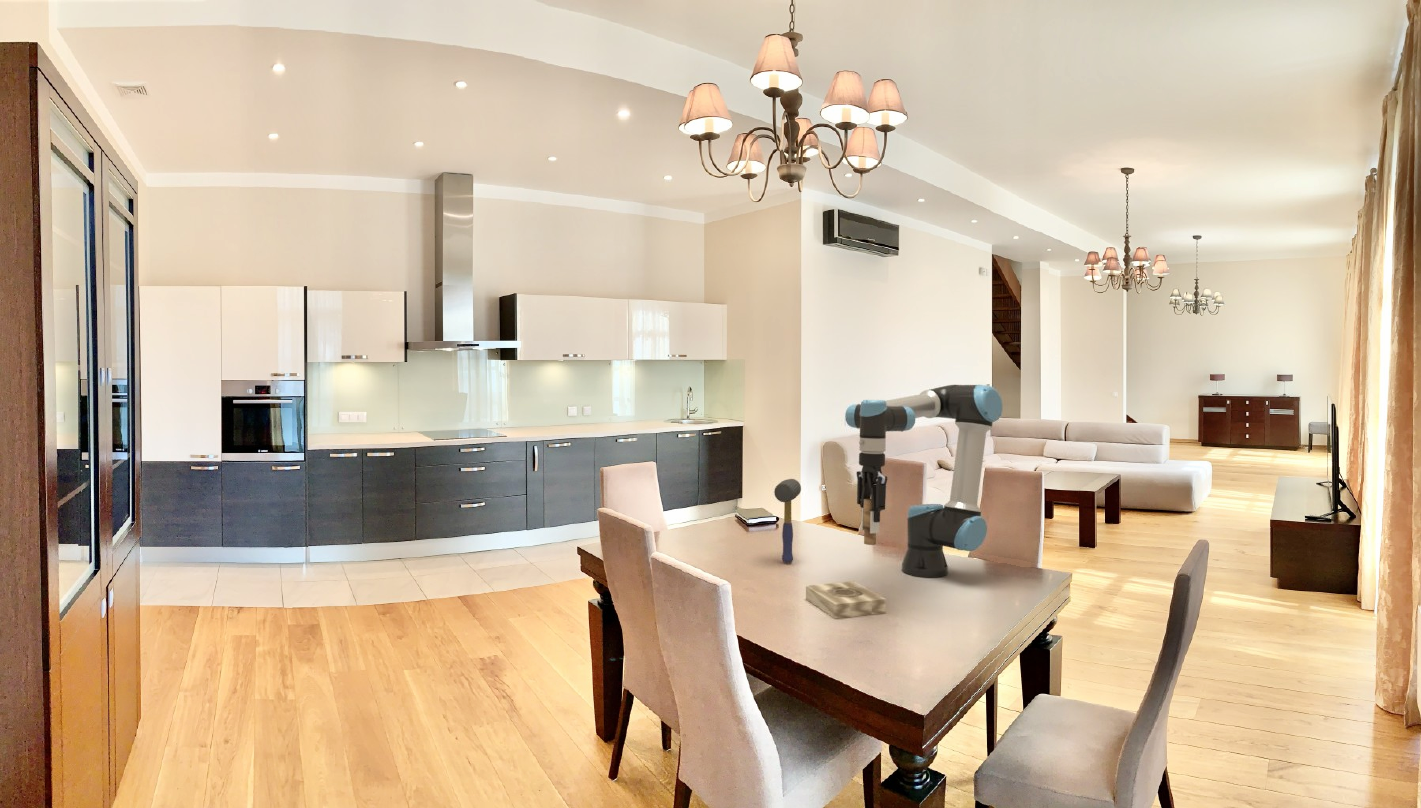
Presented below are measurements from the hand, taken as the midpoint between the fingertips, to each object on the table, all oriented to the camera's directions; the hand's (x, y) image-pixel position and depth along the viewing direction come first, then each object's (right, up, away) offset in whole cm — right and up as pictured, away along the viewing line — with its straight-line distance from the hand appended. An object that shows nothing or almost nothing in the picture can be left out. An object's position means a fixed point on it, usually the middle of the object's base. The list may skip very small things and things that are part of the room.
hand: (870, 531), depth 224 cm
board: (-8, -22, -1) cm, 23 cm away
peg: (0, -4, 0) cm, 4 cm away
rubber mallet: (-20, -20, +47) cm, 55 cm away
